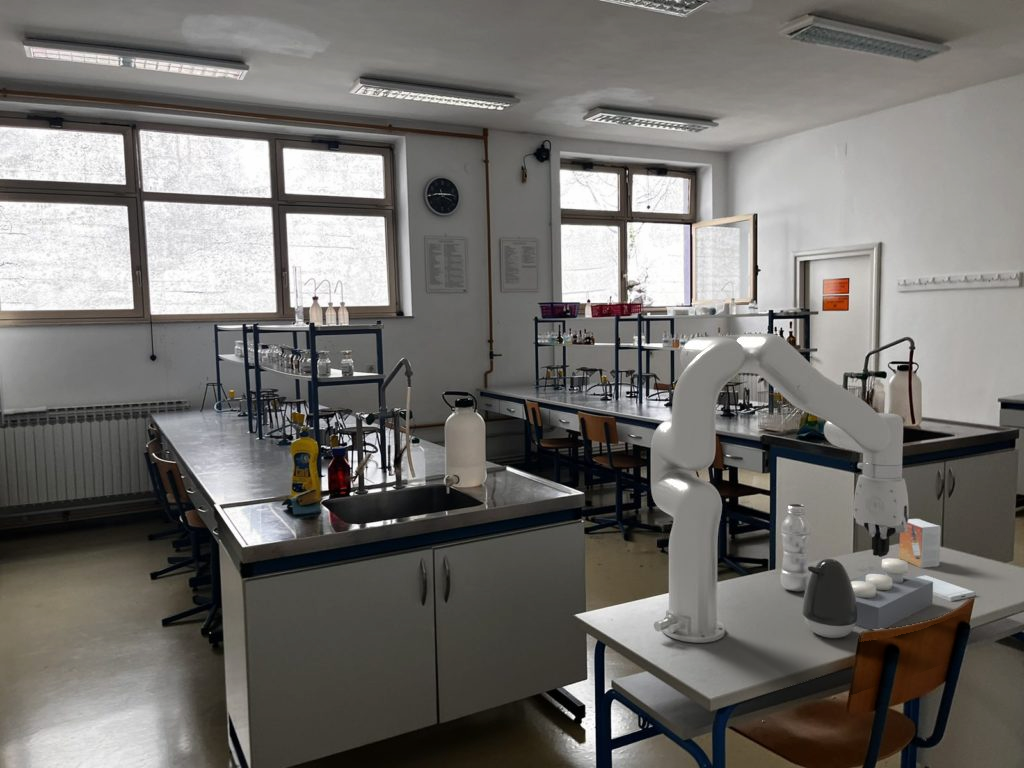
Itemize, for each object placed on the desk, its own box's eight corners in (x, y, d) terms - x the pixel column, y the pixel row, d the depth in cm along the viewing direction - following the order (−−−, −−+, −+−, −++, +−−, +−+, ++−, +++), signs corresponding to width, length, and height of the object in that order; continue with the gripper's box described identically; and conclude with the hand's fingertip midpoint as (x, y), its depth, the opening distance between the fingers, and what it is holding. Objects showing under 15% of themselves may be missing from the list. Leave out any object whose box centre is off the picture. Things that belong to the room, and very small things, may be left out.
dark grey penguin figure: (790, 627, 155) (791, 554, 154) (831, 620, 158) (832, 549, 157) (826, 647, 145) (827, 570, 144) (868, 639, 149) (870, 563, 147)
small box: (898, 558, 198) (899, 519, 197) (917, 557, 199) (918, 517, 198) (920, 568, 190) (922, 527, 189) (940, 566, 191) (941, 525, 190)
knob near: (867, 618, 156) (868, 591, 155) (843, 611, 160) (844, 584, 160) (880, 612, 159) (880, 585, 159) (856, 605, 163) (856, 579, 163)
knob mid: (884, 610, 160) (885, 583, 160) (860, 603, 164) (861, 577, 164) (896, 604, 163) (896, 578, 163) (872, 597, 167) (873, 572, 167)
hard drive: (902, 579, 179) (950, 596, 168) (926, 574, 182) (975, 590, 171) (902, 586, 179) (950, 603, 168) (926, 581, 182) (975, 598, 171)
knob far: (900, 593, 164) (901, 567, 164) (876, 586, 168) (877, 561, 168) (911, 587, 167) (912, 562, 167) (888, 581, 171) (888, 556, 171)
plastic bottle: (815, 594, 173) (816, 508, 171) (785, 594, 173) (786, 509, 172) (804, 585, 179) (806, 502, 178) (776, 585, 180) (777, 502, 178)
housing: (878, 632, 152) (878, 607, 151) (822, 614, 161) (822, 591, 161) (932, 603, 166) (933, 581, 166) (878, 589, 176) (878, 568, 175)
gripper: (839, 468, 165) (838, 550, 167) (909, 478, 153) (907, 567, 155) (857, 464, 170) (855, 544, 171) (926, 473, 158) (924, 559, 159)
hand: (880, 554), depth 163 cm, fingers closed
